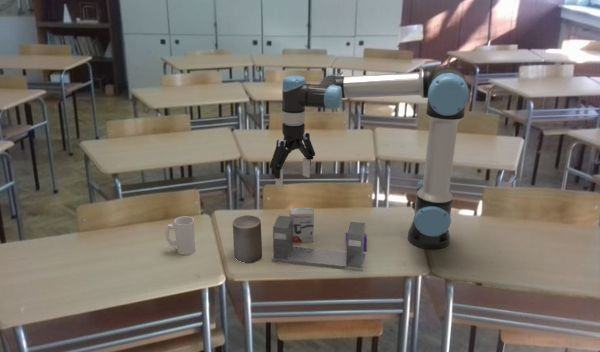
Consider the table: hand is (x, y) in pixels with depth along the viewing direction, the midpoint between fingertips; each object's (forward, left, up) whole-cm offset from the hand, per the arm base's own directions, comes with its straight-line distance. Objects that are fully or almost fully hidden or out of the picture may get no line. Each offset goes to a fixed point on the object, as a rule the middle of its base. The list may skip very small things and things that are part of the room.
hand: (292, 181), depth 200 cm
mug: (+37, +14, -24) cm, 47 cm away
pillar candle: (+13, +13, -24) cm, 31 cm away
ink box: (-3, -3, -24) cm, 25 cm away
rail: (-11, +10, -24) cm, 28 cm away
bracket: (-23, -4, -25) cm, 34 cm away
